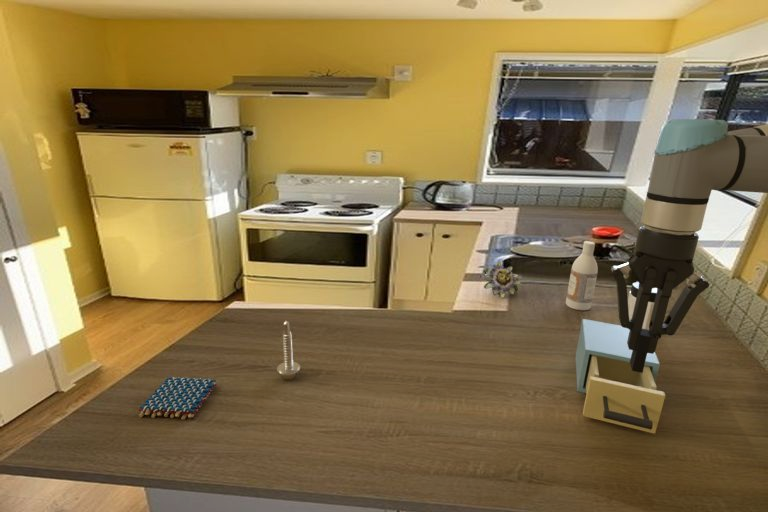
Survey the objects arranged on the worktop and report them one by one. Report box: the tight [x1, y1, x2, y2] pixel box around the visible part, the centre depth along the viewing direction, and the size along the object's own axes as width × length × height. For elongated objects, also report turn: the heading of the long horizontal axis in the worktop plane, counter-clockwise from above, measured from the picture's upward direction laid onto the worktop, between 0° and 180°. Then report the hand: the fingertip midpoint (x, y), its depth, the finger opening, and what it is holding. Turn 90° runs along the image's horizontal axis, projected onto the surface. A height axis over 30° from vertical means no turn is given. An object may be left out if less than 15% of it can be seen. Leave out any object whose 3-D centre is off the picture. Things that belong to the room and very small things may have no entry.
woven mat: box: [138, 376, 218, 421], centre depth 81 cm, size 10×11×2 cm
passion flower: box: [482, 261, 522, 299], centre depth 135 cm, size 11×11×12 cm
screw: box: [276, 320, 302, 381], centre depth 87 cm, size 13×5×5 cm
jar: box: [627, 281, 657, 331], centre depth 113 cm, size 9×8×12 cm
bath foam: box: [565, 240, 599, 311], centre depth 124 cm, size 7×7×20 cm
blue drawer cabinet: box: [574, 318, 661, 394], centre depth 90 cm, size 15×13×10 cm
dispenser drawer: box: [582, 354, 666, 435], centre depth 79 cm, size 19×12×8 cm, turn 158°
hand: (635, 367), depth 70 cm, fingers closed
